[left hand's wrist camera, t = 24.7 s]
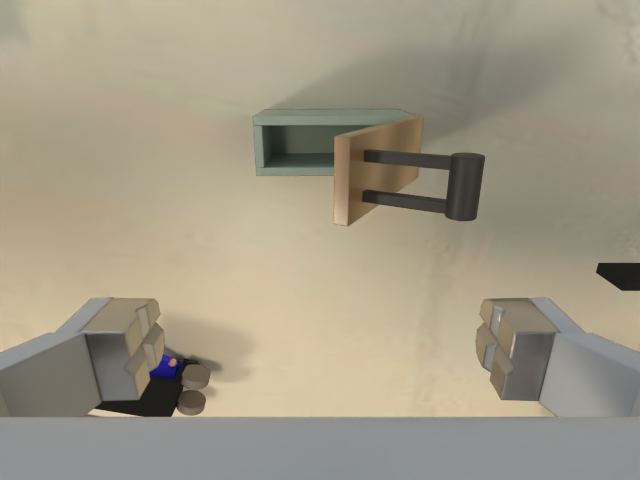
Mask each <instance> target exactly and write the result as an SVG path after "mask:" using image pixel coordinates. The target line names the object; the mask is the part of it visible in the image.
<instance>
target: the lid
mask: <svg viewBox="0 0 640 480" xmlns="http://www.w3.org/2000/svg"><path fill="white" fill-rule="evenodd" d="M422 127H423V116H411V117H407V118H403V119H399V120H396V121H392V122H388V123H384V124H380V125H376V126H372V127H369V128H365V129H361V130H357V131H353V132H349V133H345V134H342V135H338V136H335V139H334V224H337V225H343V226H349V225H351V224H352V223H354V222H355V221H356V220H358V219H359V218H361V217H362V216H364V215H365V214H366V213H368V212H369V211H371V210H372V209H374V208H375V207H376V206H378V205H379V204H380V205H388V206H395V207H402V208H409V209H416V210H423V211H430V212H437V213H444V214H445V216H446V217H447V218H449V219H452V220H456V221H472V220H475V219H476V217H477V210H478V203H479V196H480V189H481V182H482V175H483V168H484V161H485V156H484V155H481V154H475V153H455V154H452V155H451V156H448V155H435V154H422V153H420V150H421V139H422ZM419 167H424V168H435V169H446V170H450V172H449V181H448V190H447V199H439V198H431V197H423V196H415V195H407V194H399V193H396V192H398V191H399V190H401V189H402V188H404V187H405V186H406V185H408V184H409V183H411V182H412V181H414V180H415V179H416V178H418V174H419Z"/></svg>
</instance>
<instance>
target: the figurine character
mask: <svg viewBox="0 0 640 480" xmlns="http://www.w3.org/2000/svg"><path fill="white" fill-rule="evenodd" d="M161 360H163V361H160V363H159V365H158V367H157V368H155V369H154V370H152V371H151V372H149V376H150V381H149V383H148V385H147V386H146V388H145V390H144V392H143V393H142V395H141V397H140V399H139V400H118V401H101V403H100V404H99V405H98V406H96V407H95V408H94V409H100V410H106V411H112V412H118V413H124V414H130V415H136V416H142V417H171V416H172V414H173V412H174V410H175V408H176V407H177V409H178V411H179V412H180V413H182V414H185V415H197V414H199V413H201V412H202V411H203V410H204V406H205V402H206V398H205V396H204V395H203V394H202V393H201V392H199V391H195V390H187V391H184V392H182V391H183V386H185V387H186V388H189V389H202V388H204V387H206V386H207V385H208V382H209V378H210V371H209V370H208V369H207V368H206V367H204V366H201V364H200V363H198V362H196V361H189V360H187V359H184V360H177V361H176V359H172V358H170V357H168V356H166V355H164V354H163V355H162V359H161ZM177 362H178V363H179V365H178V363H177Z"/></svg>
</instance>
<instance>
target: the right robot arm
mask: <svg viewBox="0 0 640 480" xmlns="http://www.w3.org/2000/svg"><path fill="white" fill-rule="evenodd" d="M596 273H597V274H599V275H600V276H602V277H603V278H605V279H606V280H607V281H609V282H610V283H612V284H613V285H615V286H616V287H617V288H619V289H620V290H622V291H640V263H598V267H597V271H596Z"/></svg>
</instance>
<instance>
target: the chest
mask: <svg viewBox="0 0 640 480" xmlns="http://www.w3.org/2000/svg"><path fill="white" fill-rule="evenodd" d="M411 116H415V115H413V114H410V113H407V112H405V111H402V110H399V109H279V110H263V111H262V112H260V113H258V114H256V115H254V116H253V125H254V126H253V131H254V147H255V163H256V176H334V139H335V136H338V135H342V134H345V133H349V132H353V131H357V130H361V129H365V128H369V127H372V126H376V125H380V124H384V123H388V122H392V121H396V120H399V119H403V118H407V117H411Z"/></svg>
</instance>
